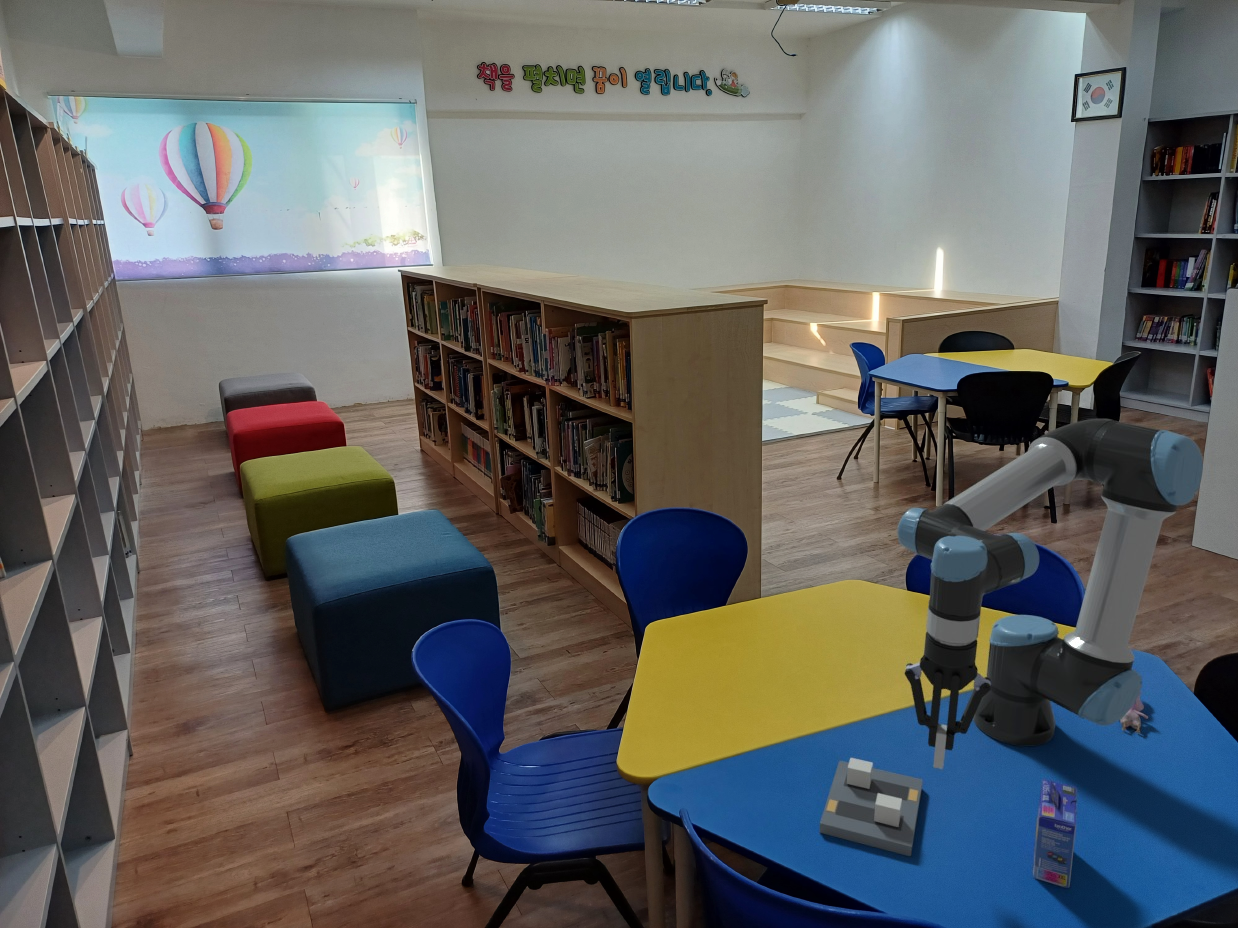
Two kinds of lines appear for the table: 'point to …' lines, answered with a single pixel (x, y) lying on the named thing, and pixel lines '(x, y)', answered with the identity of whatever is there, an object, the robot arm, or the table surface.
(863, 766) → the far tab
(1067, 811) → the ink cartridge box
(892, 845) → the switch bank
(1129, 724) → the rabbit figure
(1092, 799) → the table surface
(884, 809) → the near tab
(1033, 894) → the table surface
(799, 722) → the table surface
